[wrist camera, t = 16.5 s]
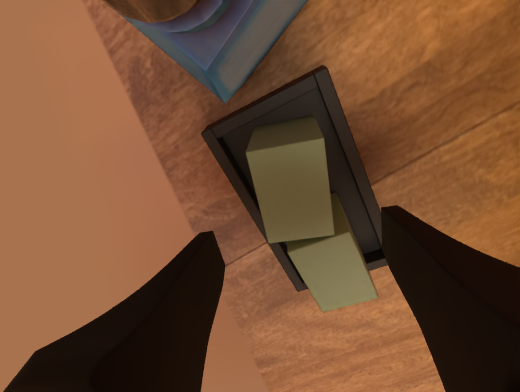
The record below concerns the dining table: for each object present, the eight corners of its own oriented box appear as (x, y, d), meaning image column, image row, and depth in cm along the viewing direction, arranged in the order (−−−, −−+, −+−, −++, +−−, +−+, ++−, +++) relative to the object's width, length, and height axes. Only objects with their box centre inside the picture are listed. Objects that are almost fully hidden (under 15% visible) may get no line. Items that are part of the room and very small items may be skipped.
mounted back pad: (315, 264, 24) (322, 313, 20) (286, 210, 22) (287, 252, 17) (361, 249, 23) (379, 298, 18) (335, 191, 20) (349, 231, 16)
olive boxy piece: (271, 202, 21) (268, 243, 17) (254, 126, 19) (245, 152, 14) (323, 195, 21) (335, 235, 16) (314, 114, 18) (324, 137, 14)
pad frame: (296, 277, 26) (297, 292, 24) (206, 126, 19) (200, 133, 18) (391, 247, 23) (398, 262, 22) (323, 64, 17) (326, 66, 15)
